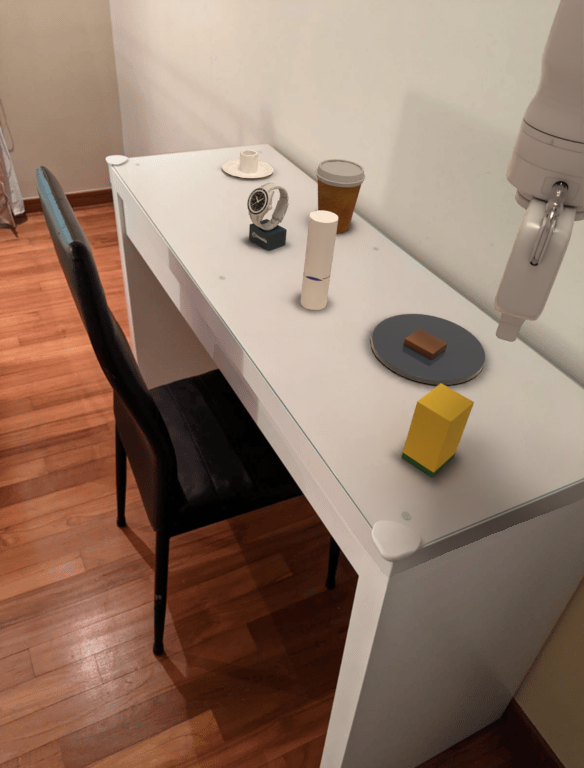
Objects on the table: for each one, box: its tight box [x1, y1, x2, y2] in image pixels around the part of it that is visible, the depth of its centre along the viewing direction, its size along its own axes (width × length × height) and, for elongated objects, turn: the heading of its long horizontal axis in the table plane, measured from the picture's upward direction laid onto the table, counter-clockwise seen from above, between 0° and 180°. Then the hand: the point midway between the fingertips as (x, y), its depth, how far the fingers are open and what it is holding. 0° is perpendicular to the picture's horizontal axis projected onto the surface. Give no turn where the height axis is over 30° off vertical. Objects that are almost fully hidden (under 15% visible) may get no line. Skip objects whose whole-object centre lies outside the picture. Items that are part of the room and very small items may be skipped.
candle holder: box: [221, 149, 274, 179], centre depth 141 cm, size 12×12×4 cm
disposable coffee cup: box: [315, 158, 366, 234], centre depth 119 cm, size 10×10×12 cm
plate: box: [370, 313, 486, 386], centre depth 92 cm, size 17×17×1 cm
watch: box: [246, 182, 290, 252], centre depth 112 cm, size 6×8×11 cm
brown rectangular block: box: [404, 329, 447, 360], centre depth 91 cm, size 4×5×1 cm
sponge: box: [400, 383, 475, 478], centre depth 72 cm, size 5×4×9 cm
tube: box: [300, 210, 338, 311], centre depth 95 cm, size 4×4×15 cm
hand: (513, 311), depth 58 cm, fingers open, 8 cm apart
